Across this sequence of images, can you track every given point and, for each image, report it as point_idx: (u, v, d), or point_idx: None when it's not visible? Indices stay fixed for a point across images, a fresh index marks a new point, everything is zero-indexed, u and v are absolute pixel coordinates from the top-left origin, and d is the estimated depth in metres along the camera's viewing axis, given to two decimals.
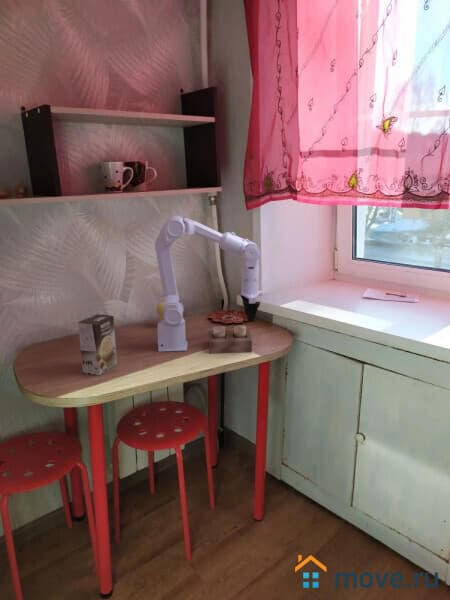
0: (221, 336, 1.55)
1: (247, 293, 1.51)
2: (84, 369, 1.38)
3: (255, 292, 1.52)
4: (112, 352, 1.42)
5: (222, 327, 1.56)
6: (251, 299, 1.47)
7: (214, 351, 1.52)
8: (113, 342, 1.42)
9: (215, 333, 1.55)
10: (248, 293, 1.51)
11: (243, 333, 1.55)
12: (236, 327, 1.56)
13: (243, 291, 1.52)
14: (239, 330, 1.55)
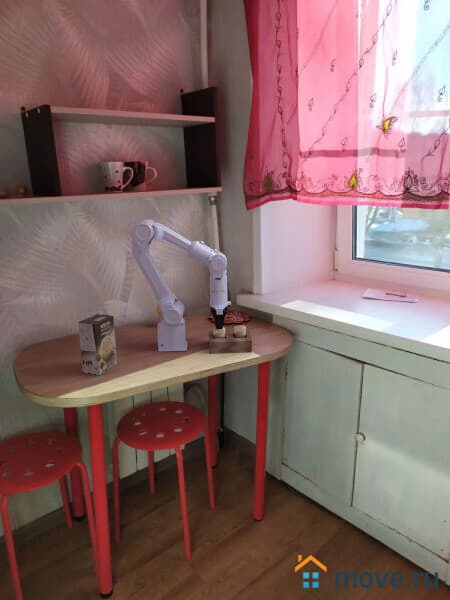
0: (221, 337, 1.55)
1: (215, 304, 1.51)
2: (84, 369, 1.38)
3: (223, 303, 1.51)
4: (112, 352, 1.42)
5: None
6: (218, 310, 1.47)
7: (214, 351, 1.52)
8: (113, 342, 1.42)
9: (215, 334, 1.55)
10: (216, 304, 1.51)
11: (243, 333, 1.55)
12: (236, 327, 1.56)
13: (211, 302, 1.52)
14: (239, 330, 1.55)
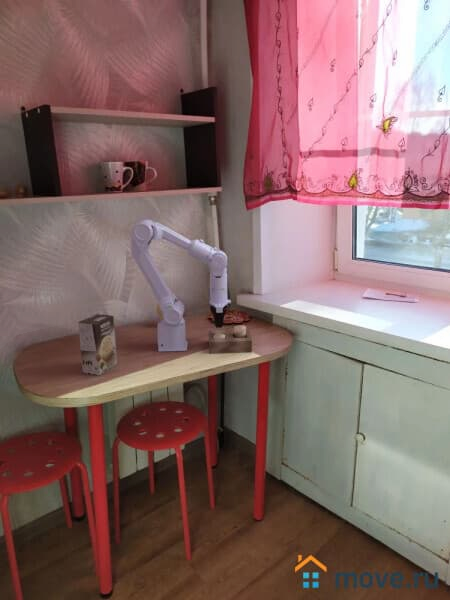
0: None
1: (215, 302, 1.51)
2: (84, 369, 1.38)
3: (223, 301, 1.51)
4: (112, 352, 1.42)
5: (222, 335, 1.57)
6: (218, 308, 1.47)
7: (214, 351, 1.52)
8: (113, 342, 1.42)
9: None
10: (216, 302, 1.51)
11: (243, 333, 1.55)
12: (236, 327, 1.56)
13: (211, 300, 1.52)
14: (239, 330, 1.55)
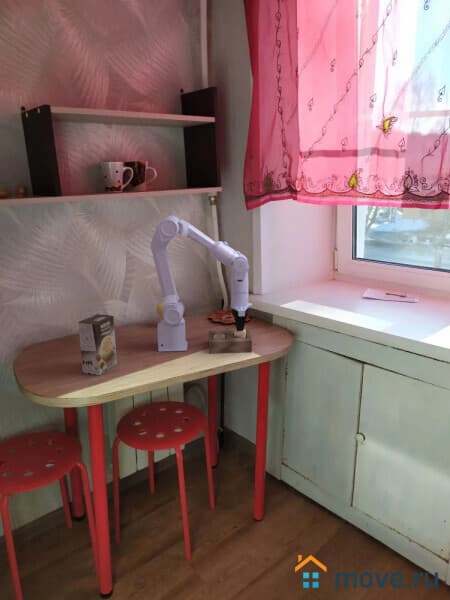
0: None
1: (237, 306, 1.52)
2: (84, 369, 1.38)
3: (245, 305, 1.52)
4: (112, 352, 1.42)
5: (222, 335, 1.57)
6: (240, 312, 1.47)
7: (214, 351, 1.52)
8: (113, 342, 1.42)
9: None
10: (238, 306, 1.51)
11: (243, 336, 1.56)
12: (236, 330, 1.56)
13: (233, 304, 1.52)
14: (239, 333, 1.55)
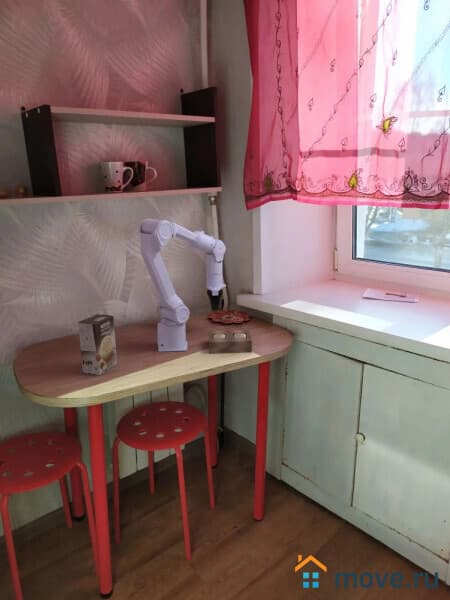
0: None
1: (211, 286, 1.63)
2: (84, 369, 1.38)
3: (219, 285, 1.63)
4: (112, 352, 1.42)
5: (222, 335, 1.57)
6: (214, 291, 1.59)
7: (214, 351, 1.52)
8: (113, 342, 1.42)
9: None
10: (212, 286, 1.63)
11: None
12: (236, 335, 1.57)
13: (208, 284, 1.64)
14: None
